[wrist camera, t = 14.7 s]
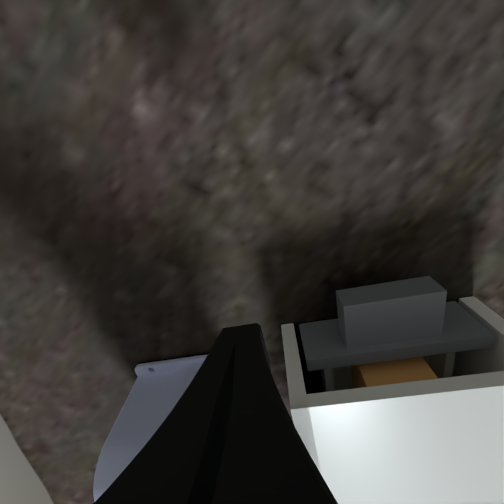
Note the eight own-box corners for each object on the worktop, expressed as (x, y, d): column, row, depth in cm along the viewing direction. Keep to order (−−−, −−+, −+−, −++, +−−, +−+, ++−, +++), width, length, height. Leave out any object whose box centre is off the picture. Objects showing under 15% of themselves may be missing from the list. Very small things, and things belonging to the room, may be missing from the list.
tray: (314, 417, 25) (323, 459, 22) (292, 286, 19) (299, 318, 16) (441, 403, 24) (470, 446, 20) (460, 259, 18) (506, 287, 14)
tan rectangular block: (353, 395, 23) (374, 452, 19) (349, 344, 20) (371, 397, 16) (405, 389, 22) (438, 446, 18) (407, 336, 20) (445, 388, 16)
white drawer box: (301, 422, 26) (315, 517, 19) (280, 324, 21) (290, 409, 14) (455, 406, 24) (525, 503, 18) (473, 296, 19) (580, 376, 13)
